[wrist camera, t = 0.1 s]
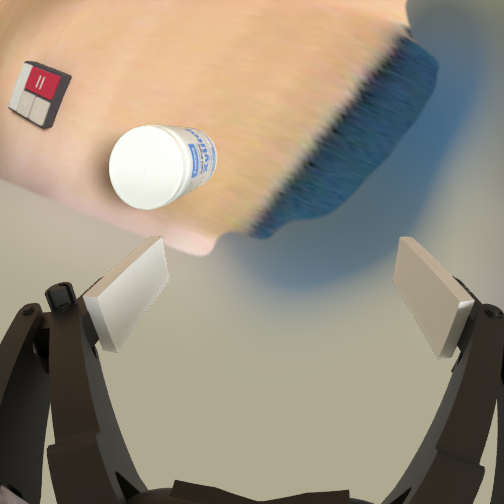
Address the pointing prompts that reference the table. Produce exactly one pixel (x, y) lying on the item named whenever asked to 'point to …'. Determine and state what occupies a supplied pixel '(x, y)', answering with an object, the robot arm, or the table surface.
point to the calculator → (39, 93)
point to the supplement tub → (160, 164)
